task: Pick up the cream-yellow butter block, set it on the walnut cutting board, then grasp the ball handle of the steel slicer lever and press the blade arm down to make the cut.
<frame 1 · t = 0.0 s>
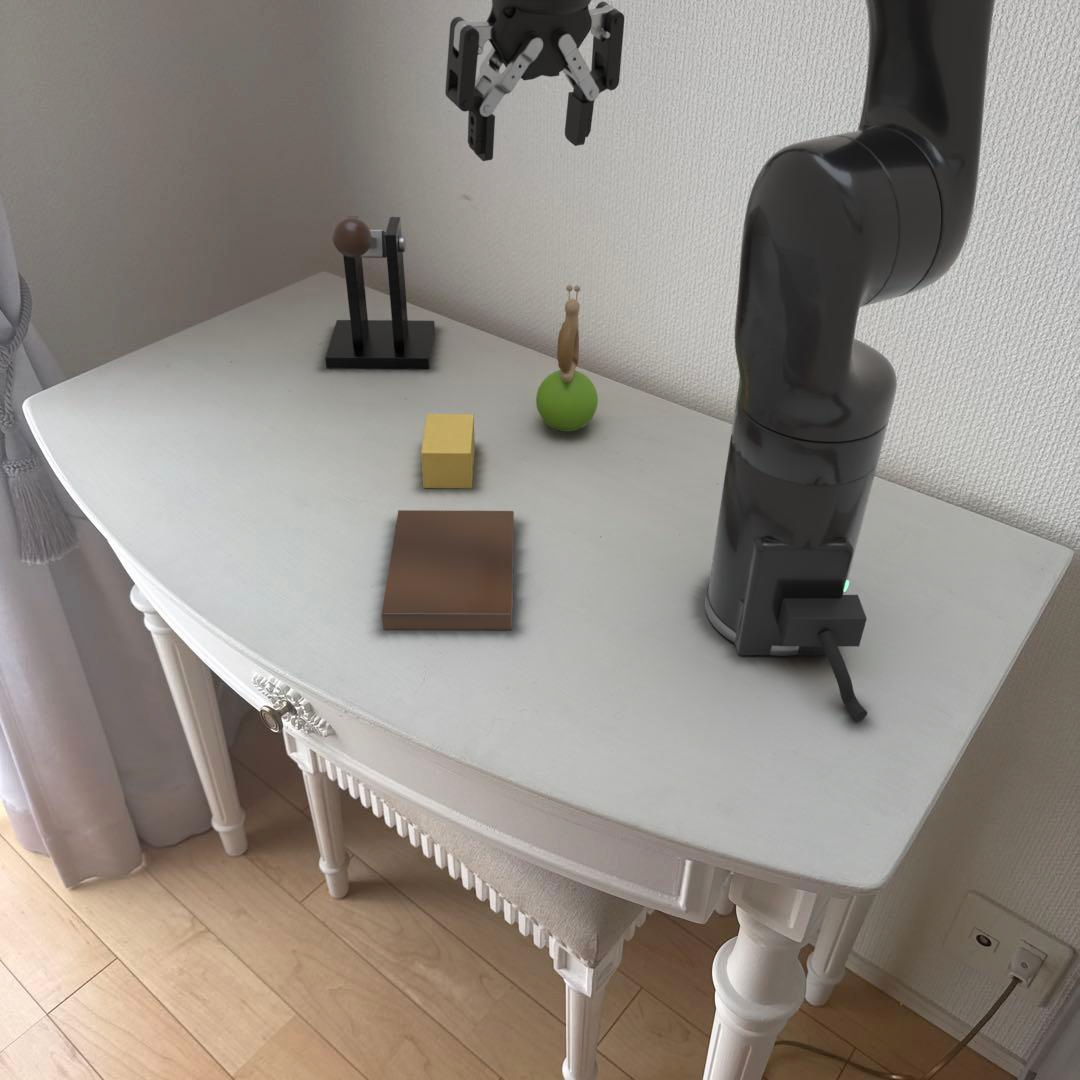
hand: (529, 149, 85), 22 cm above the table, tool pointing down, fingers open, 8 cm apart
butter: (449, 467, 89), on the table
snail figurine: (566, 425, 95), on the table
slicer bracket: (382, 349, 105), on the table
board: (452, 574, 78), on the table
slicer: (363, 240, 92), point 14 cm above the table, hinge at 25.0°
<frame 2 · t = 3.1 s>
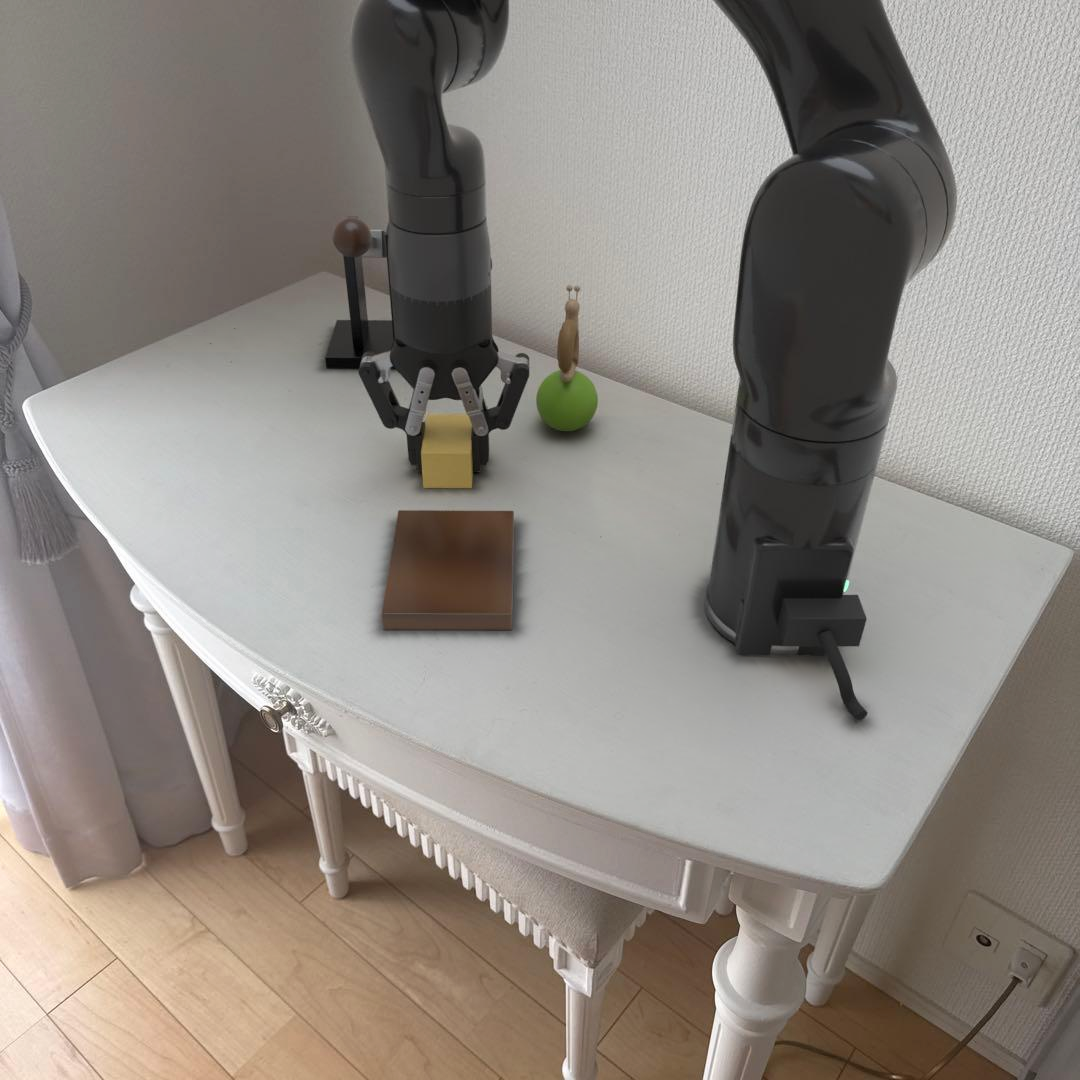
hand: (449, 465, 88), 0 cm above the table, tool pointing down, fingers closed on butter, 4 cm apart
butter: (449, 467, 89), on the table, touching gripper
everything else where it was.
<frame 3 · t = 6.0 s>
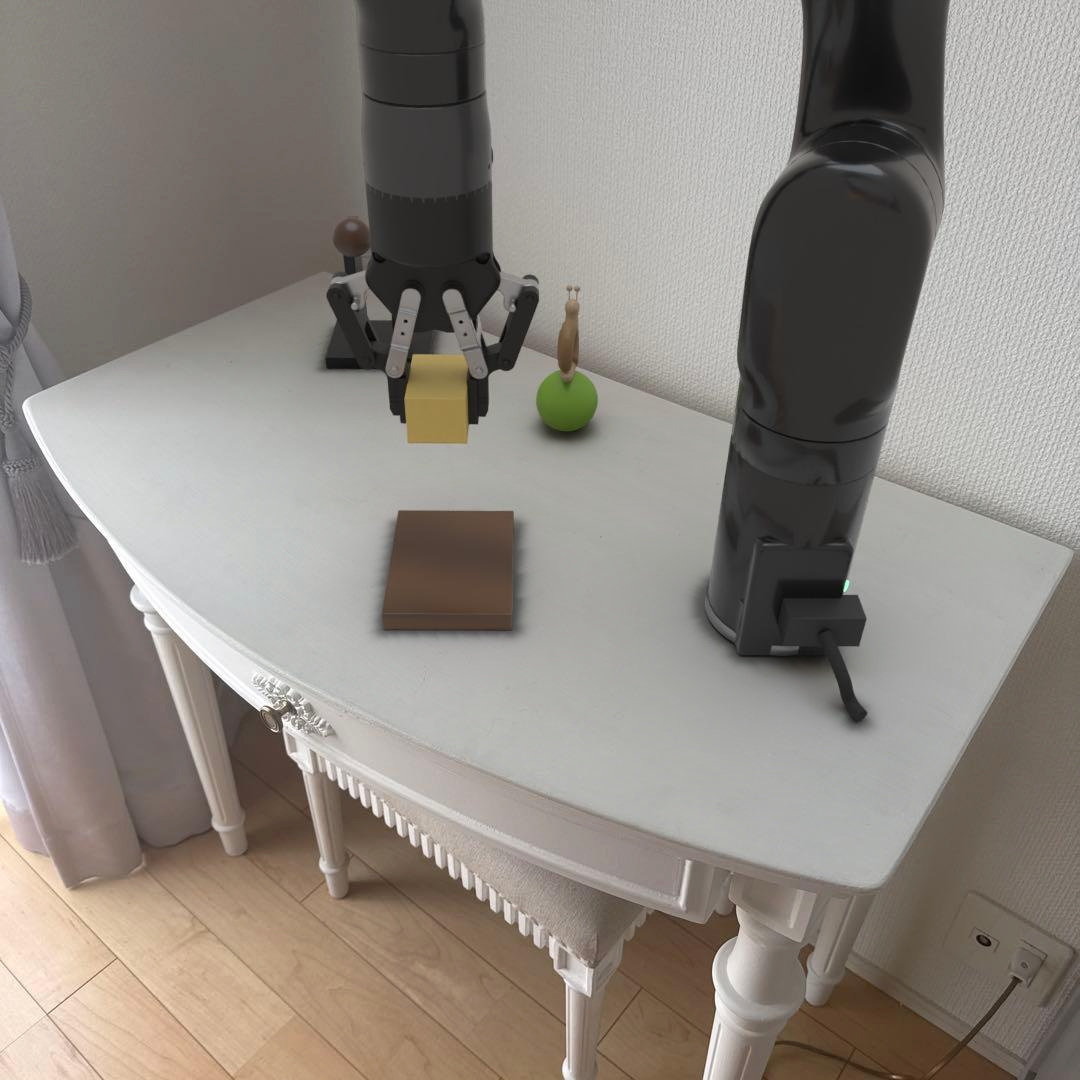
hand: (440, 417, 72), 12 cm above the table, tool pointing down, fingers closed on butter, 4 cm apart
butter: (440, 420, 73), point 12 cm above the table, touching gripper
everything else where it was.
when the fingers open (2 cm above the table, at t = 8.7 s): butter stays where it is, resting on board.
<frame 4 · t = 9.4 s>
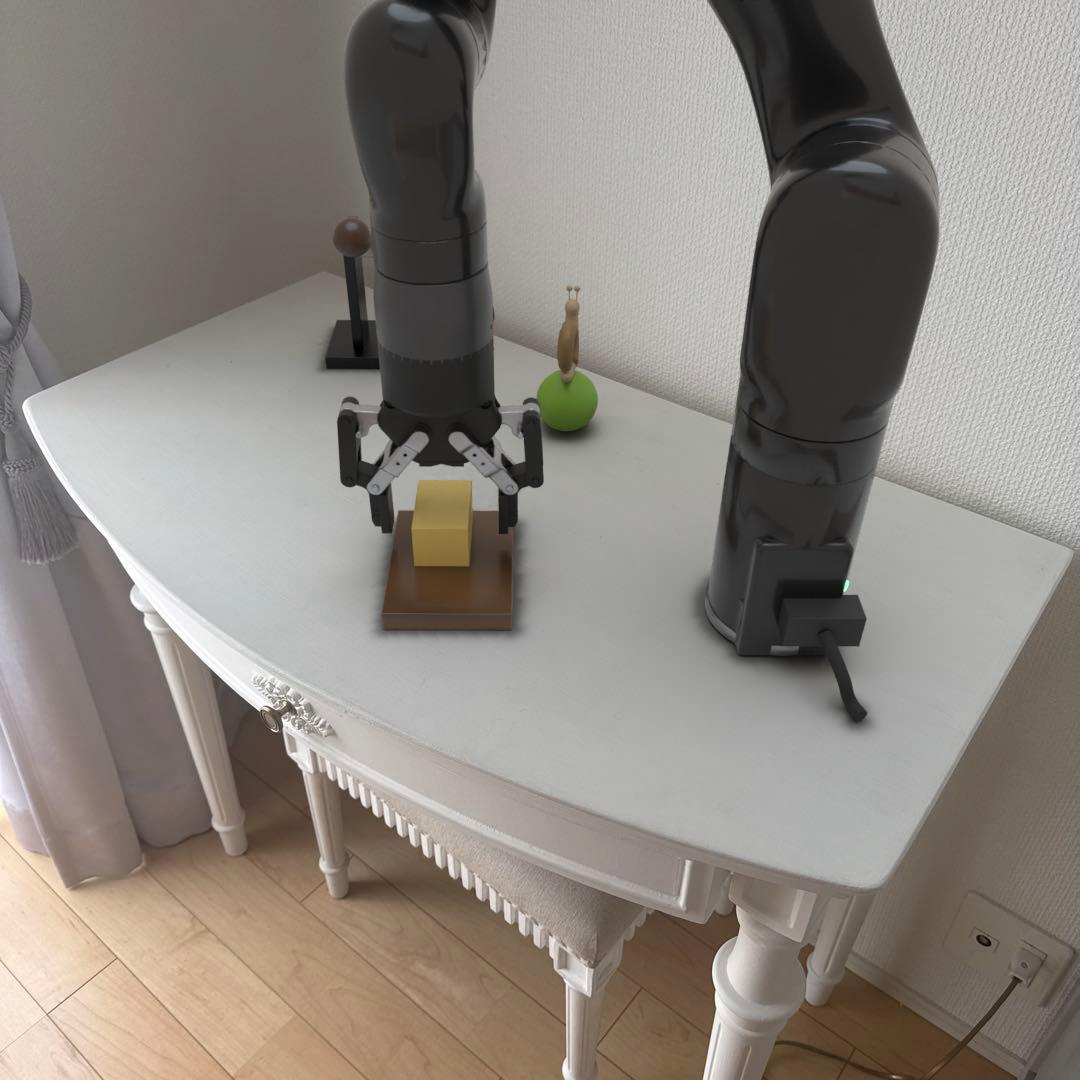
hand: (446, 527, 77), 3 cm above the table, tool pointing down, fingers open, 8 cm apart
butter: (444, 541, 78), point 1 cm above the table, touching board
everything else where it was.
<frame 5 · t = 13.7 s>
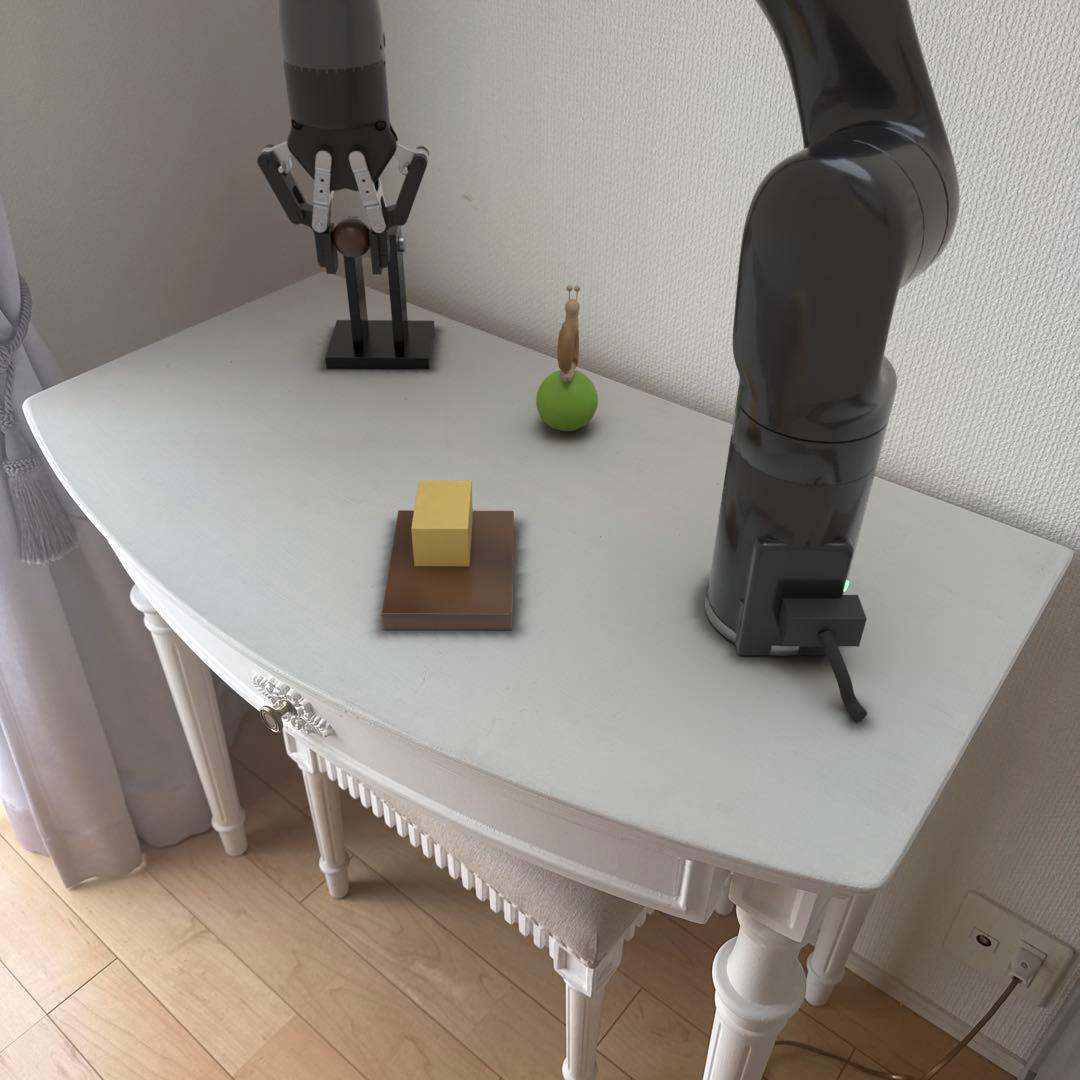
hand: (355, 269, 88), 13 cm above the table, tool pointing down, fingers closed on slicer, 3 cm apart
slicer: (363, 240, 92), point 14 cm above the table, hinge at 24.9°, touching gripper
everything else where it was.
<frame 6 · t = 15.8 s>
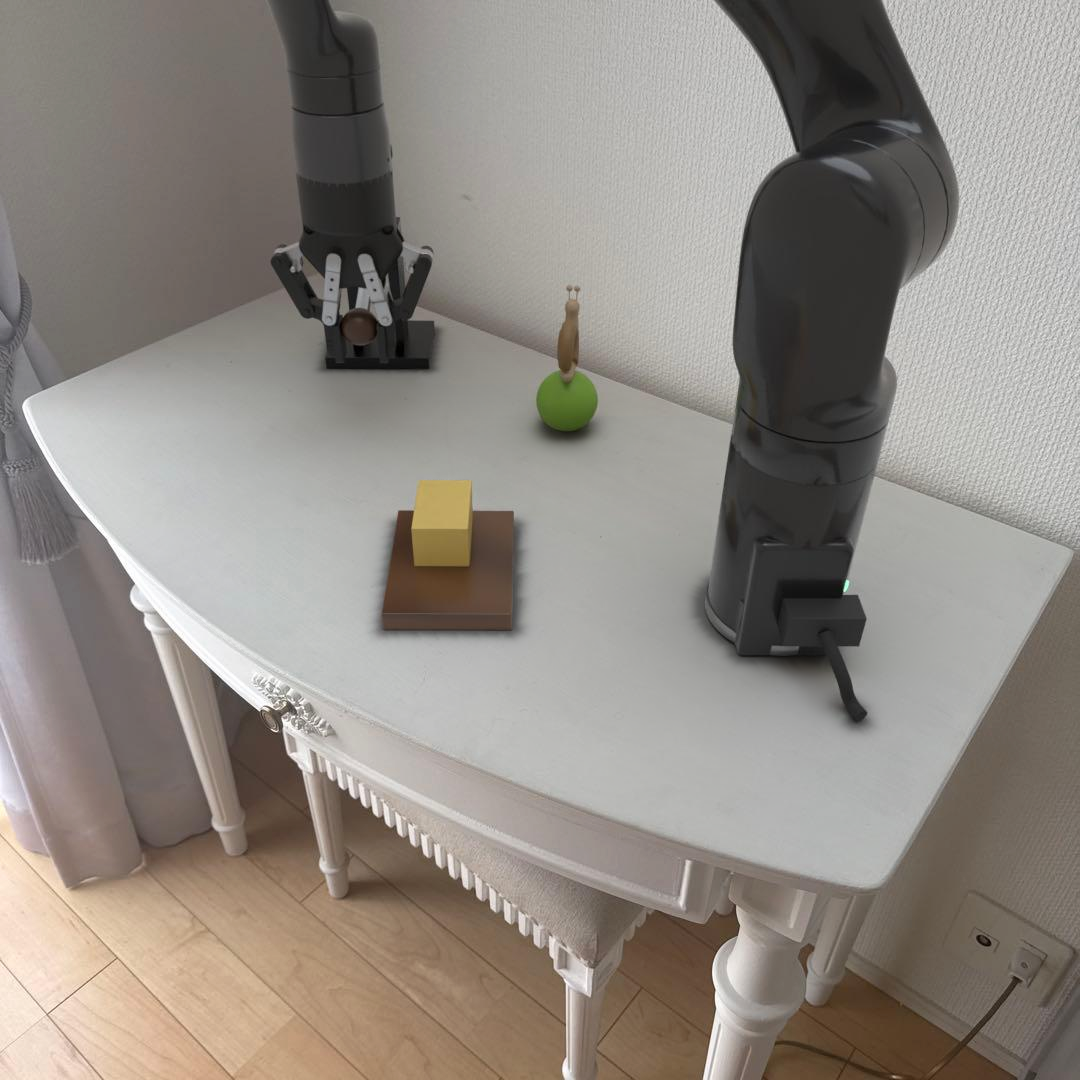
hand: (363, 357, 93), 5 cm above the table, tool pointing down, fingers closed on slicer, 3 cm apart
slicer: (366, 284, 94), point 10 cm above the table, hinge at -12.7°, touching gripper
everything else where it was.
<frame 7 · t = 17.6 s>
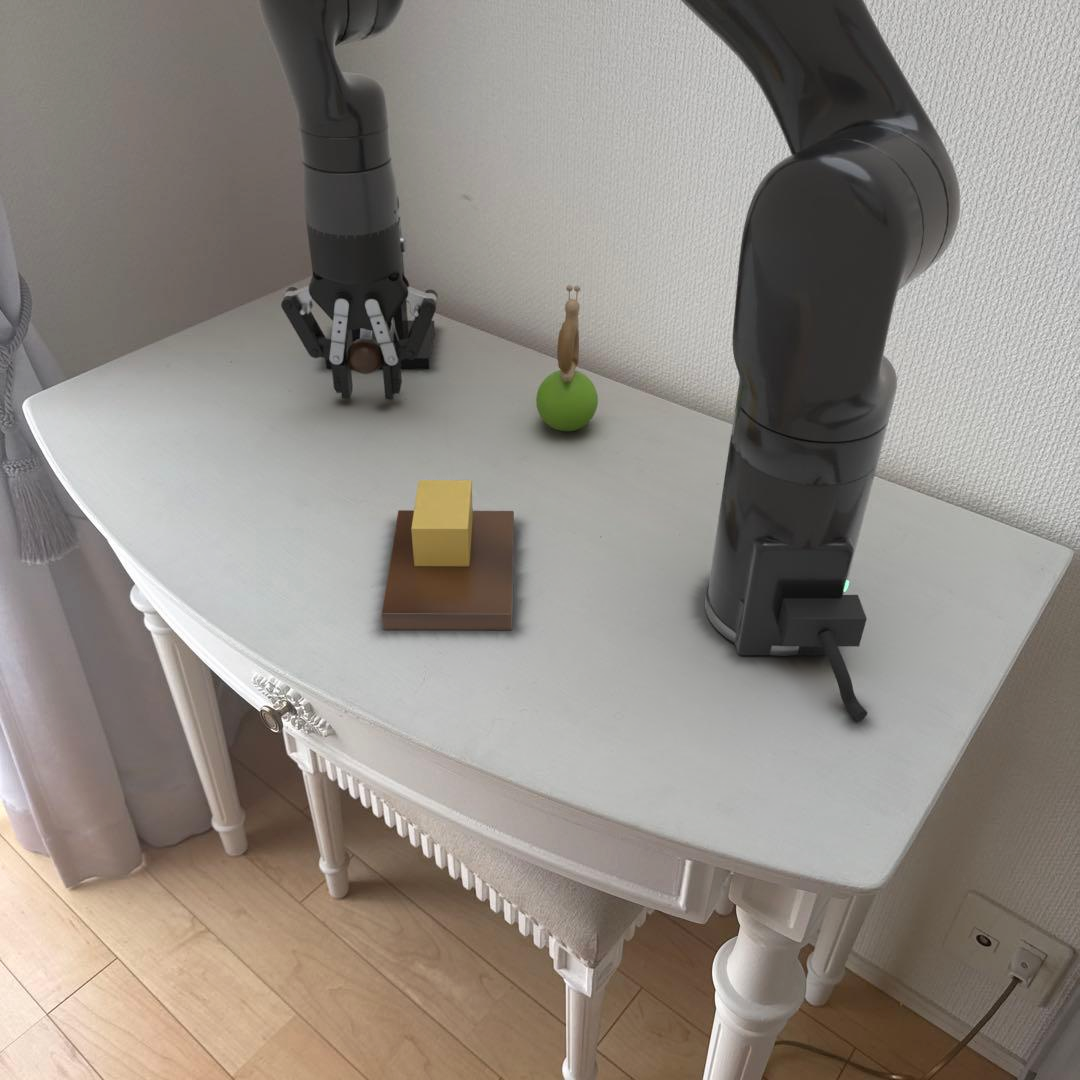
hand: (369, 394, 96), 1 cm above the table, tool pointing down, fingers open, 3 cm apart
slicer: (369, 299, 96), point 8 cm above the table, hinge at -31.3°
everything else where it was.
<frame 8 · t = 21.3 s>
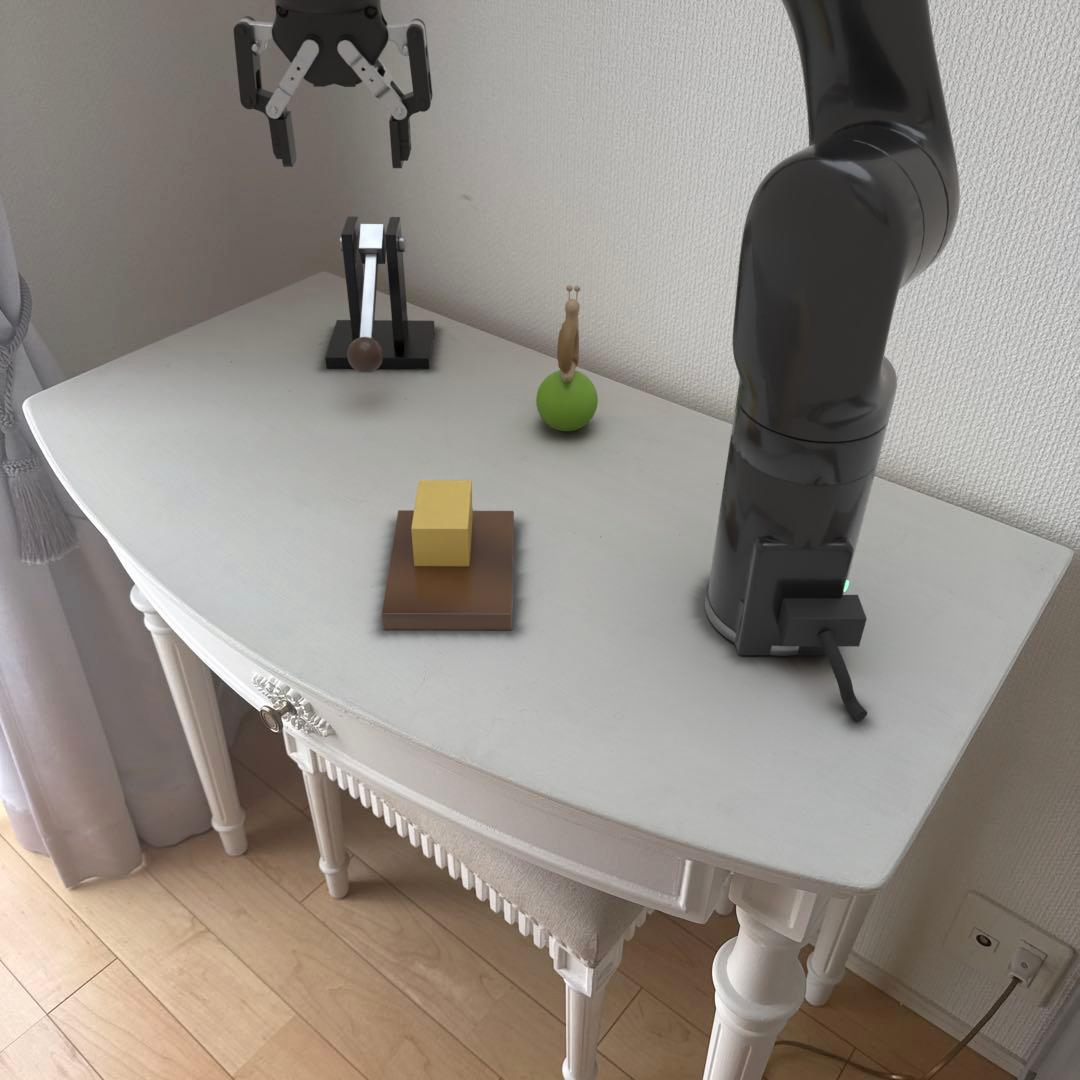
hand: (344, 164, 83), 22 cm above the table, tool pointing down, fingers open, 8 cm apart
slicer: (369, 299, 96), point 8 cm above the table, hinge at -30.4°
everything else where it was.
at the end: butter inside the target area on the board (2.2 cm from its centre), point 1.5 cm above the board's base; slicer at -30° (first picture: +25°) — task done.
